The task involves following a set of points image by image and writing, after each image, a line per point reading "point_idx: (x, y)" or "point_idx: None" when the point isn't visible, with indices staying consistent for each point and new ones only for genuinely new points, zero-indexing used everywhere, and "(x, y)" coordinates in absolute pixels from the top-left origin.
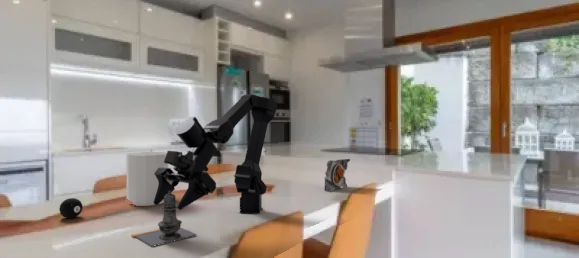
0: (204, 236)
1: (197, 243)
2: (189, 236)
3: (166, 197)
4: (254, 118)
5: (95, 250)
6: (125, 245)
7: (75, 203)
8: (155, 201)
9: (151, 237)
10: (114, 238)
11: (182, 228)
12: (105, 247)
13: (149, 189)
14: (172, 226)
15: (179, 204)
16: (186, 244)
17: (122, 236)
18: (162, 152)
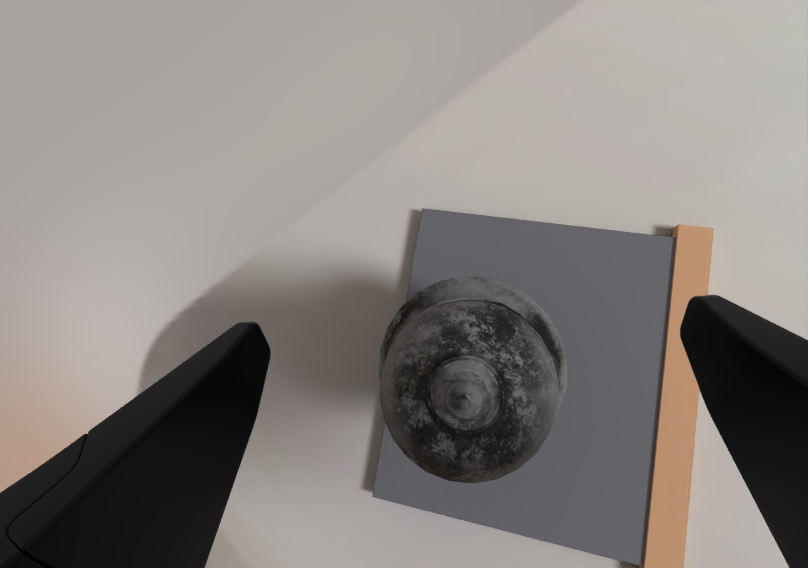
0: (329, 515)
1: (273, 398)
2: (382, 443)
3: (436, 309)
4: None
5: (619, 5)
6: (568, 136)
7: None
8: (702, 313)
9: (553, 283)
10: (760, 149)
11: (562, 542)
12: (625, 54)
13: None
14: (390, 331)
15: (223, 339)
16: (309, 351)
17: (763, 200)
18: None
